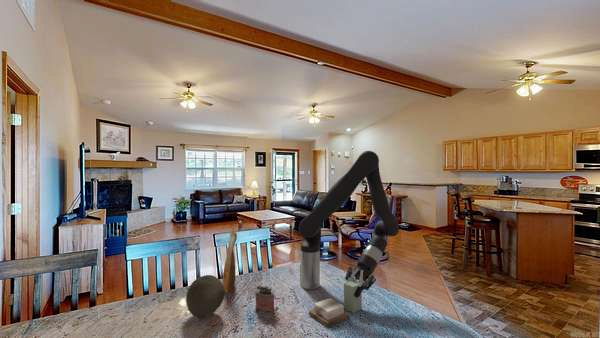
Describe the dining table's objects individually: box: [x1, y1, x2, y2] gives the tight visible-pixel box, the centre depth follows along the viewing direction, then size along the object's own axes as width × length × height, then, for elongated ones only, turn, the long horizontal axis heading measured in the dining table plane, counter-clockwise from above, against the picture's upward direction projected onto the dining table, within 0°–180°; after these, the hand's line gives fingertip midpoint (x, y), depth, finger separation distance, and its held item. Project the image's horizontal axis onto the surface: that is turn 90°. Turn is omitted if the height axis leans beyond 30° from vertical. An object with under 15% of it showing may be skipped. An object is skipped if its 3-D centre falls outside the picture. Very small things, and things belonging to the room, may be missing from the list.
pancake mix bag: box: [222, 225, 238, 295], centre depth 138 cm, size 7×19×28 cm, turn 12°
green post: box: [343, 279, 363, 313], centre depth 116 cm, size 5×5×10 cm
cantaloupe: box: [185, 274, 226, 319], centre depth 111 cm, size 14×14×15 cm
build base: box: [308, 297, 350, 328], centre depth 110 cm, size 11×11×4 cm
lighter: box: [254, 285, 275, 315], centre depth 114 cm, size 8×3×10 cm, turn 71°
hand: (350, 293), depth 115 cm, fingers closed on green post, 5 cm apart
